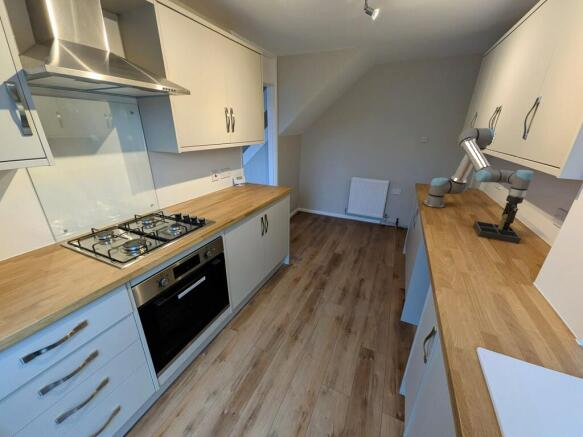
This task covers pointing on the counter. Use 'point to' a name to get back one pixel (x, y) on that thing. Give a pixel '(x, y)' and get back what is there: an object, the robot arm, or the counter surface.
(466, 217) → the counter surface
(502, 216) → the cork
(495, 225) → the grid
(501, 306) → the counter surface
